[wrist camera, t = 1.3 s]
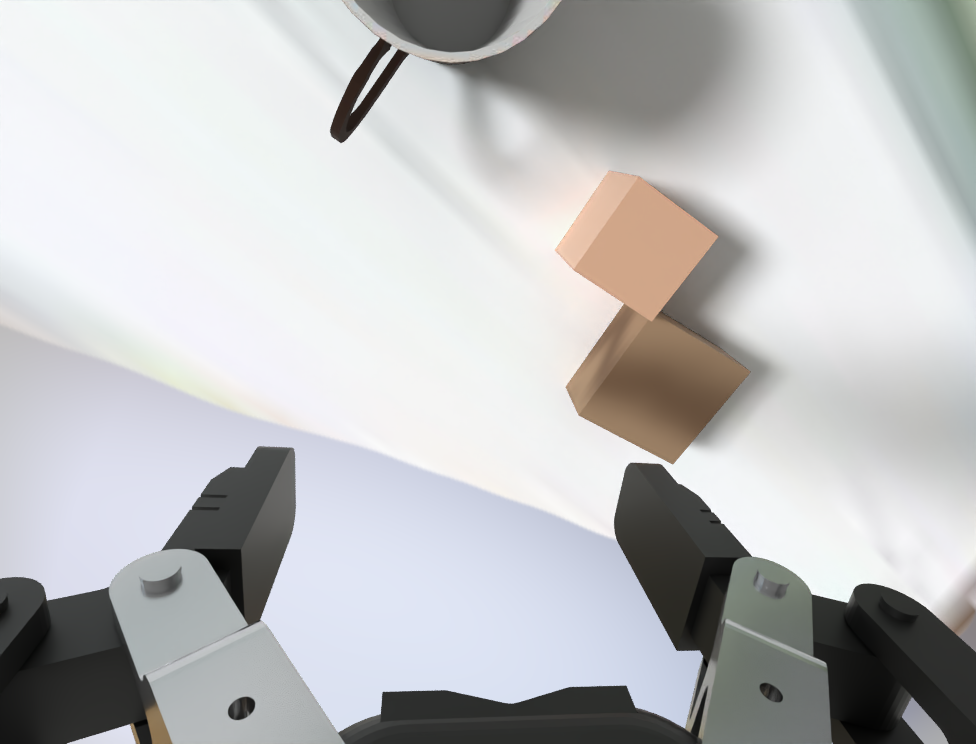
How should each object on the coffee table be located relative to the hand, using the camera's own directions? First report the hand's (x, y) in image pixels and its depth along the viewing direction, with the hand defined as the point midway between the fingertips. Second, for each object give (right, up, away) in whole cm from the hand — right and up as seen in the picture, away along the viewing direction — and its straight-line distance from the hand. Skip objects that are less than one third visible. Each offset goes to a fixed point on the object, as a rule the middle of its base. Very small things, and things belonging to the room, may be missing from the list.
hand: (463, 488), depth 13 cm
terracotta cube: (+8, +11, +17) cm, 21 cm away
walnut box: (+10, +3, +21) cm, 23 cm away
